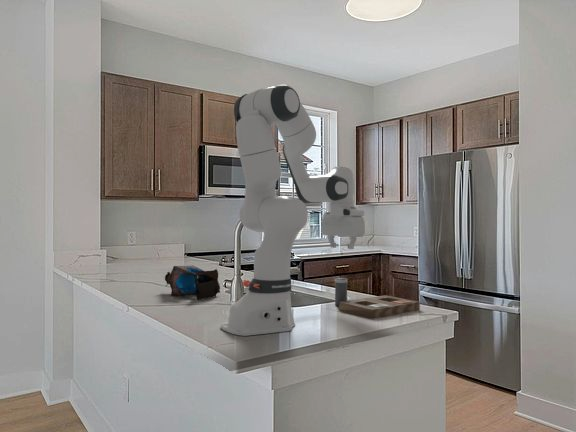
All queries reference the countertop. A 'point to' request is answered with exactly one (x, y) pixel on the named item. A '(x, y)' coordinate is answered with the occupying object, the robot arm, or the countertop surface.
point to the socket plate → (379, 306)
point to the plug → (340, 290)
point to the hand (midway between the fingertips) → (341, 248)
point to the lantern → (193, 282)
